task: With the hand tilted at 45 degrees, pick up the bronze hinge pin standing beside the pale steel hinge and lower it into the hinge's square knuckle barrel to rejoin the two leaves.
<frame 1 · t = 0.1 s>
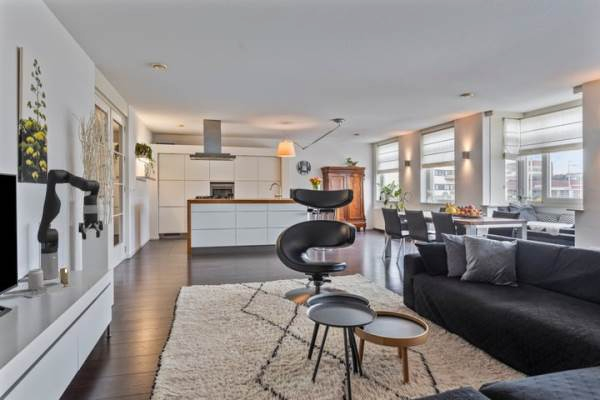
hand: (91, 238, 220), 29 cm above the table, tool pointing down, fingers open, 8 cm apart
can: (36, 289, 213), on the table
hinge: (50, 291, 208), on the table
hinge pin: (64, 284, 224), on the table
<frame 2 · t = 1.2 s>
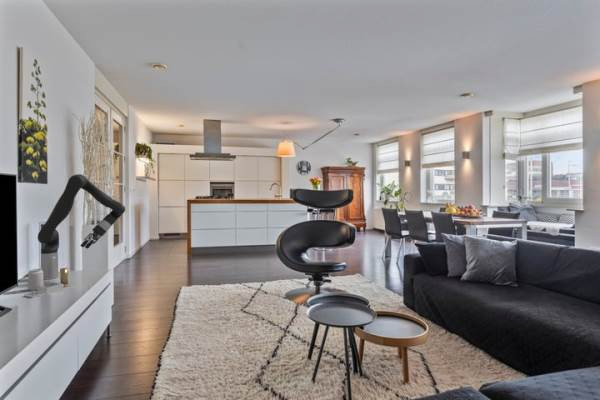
hand: (83, 247, 232), 22 cm above the table, tool tilted 45°, fingers open, 8 cm apart
nothing on the table moved.
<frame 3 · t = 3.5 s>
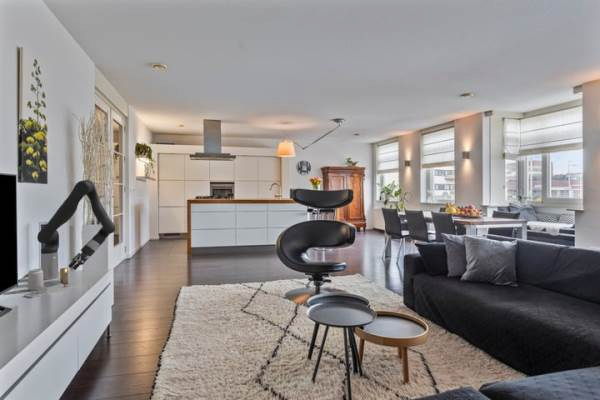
hand: (71, 268, 227), 9 cm above the table, tool tilted 45°, fingers open, 8 cm apart
nothing on the table moved.
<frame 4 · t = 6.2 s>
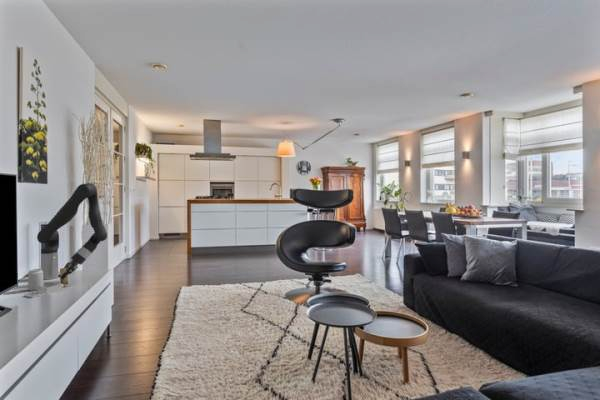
hand: (60, 277, 222), 5 cm above the table, tool tilted 45°, fingers closed on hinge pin, 4 cm apart
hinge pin: (64, 284, 224), on the table, touching gripper
everything else where it was.
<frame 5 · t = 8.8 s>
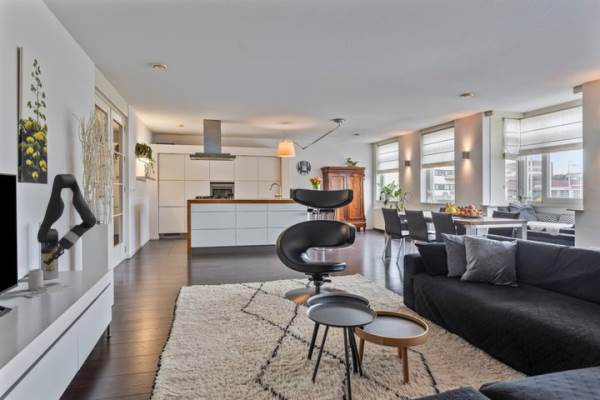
hand: (45, 263, 206), 17 cm above the table, tool tilted 45°, fingers closed on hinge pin, 4 cm apart
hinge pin: (50, 270, 208), point 12 cm above the table, touching gripper
everything else where it was.
when the fingers open (6 cm above the table, at t = 11.5 s): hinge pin drops 1 cm, resting in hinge.
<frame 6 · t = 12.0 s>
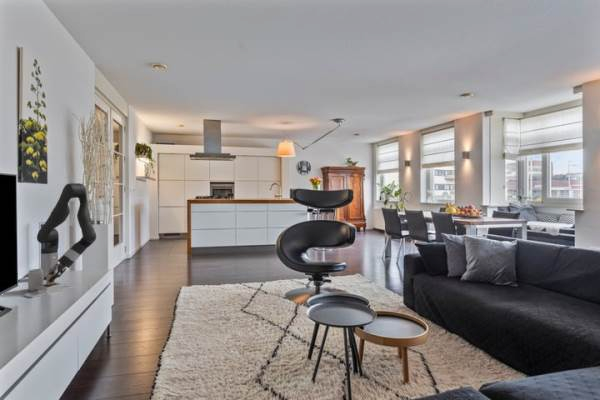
hand: (47, 280, 207), 7 cm above the table, tool tilted 45°, fingers open, 8 cm apart
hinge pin: (50, 291, 208), resting in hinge
everything else where it was.
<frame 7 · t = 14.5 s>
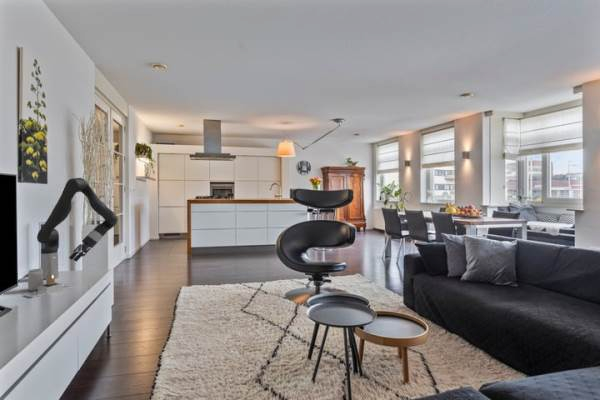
hand: (72, 259, 217), 17 cm above the table, tool tilted 45°, fingers open, 8 cm apart
nothing on the table moved.
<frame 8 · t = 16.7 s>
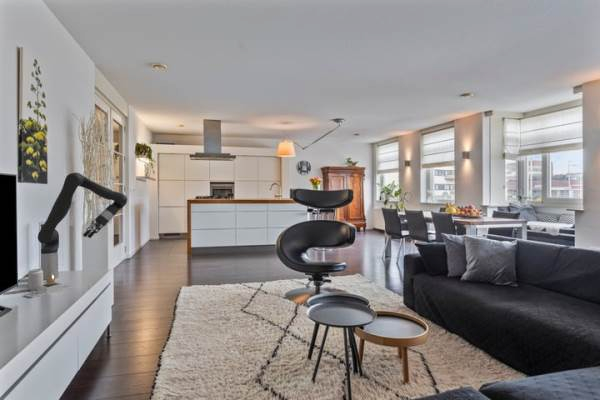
hand: (86, 236, 232), 29 cm above the table, tool tilted 45°, fingers open, 8 cm apart
nothing on the table moved.
at the end: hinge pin 0.2 cm off-centre on the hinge, point 0.0 cm above the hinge's base; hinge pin tilted 0°; the gripper is holding nothing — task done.
